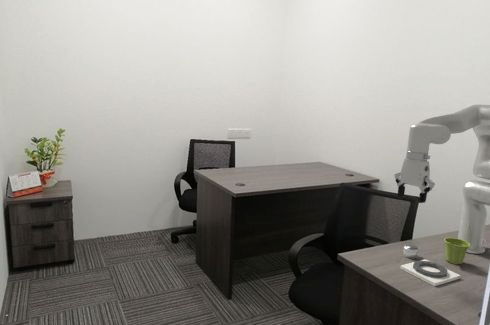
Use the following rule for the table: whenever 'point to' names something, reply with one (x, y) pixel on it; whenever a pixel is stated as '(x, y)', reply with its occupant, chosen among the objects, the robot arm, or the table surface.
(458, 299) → the table surface
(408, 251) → the cap
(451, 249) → the plant pot
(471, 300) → the table surface
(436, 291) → the table surface
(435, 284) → the mounted pipe fitting
